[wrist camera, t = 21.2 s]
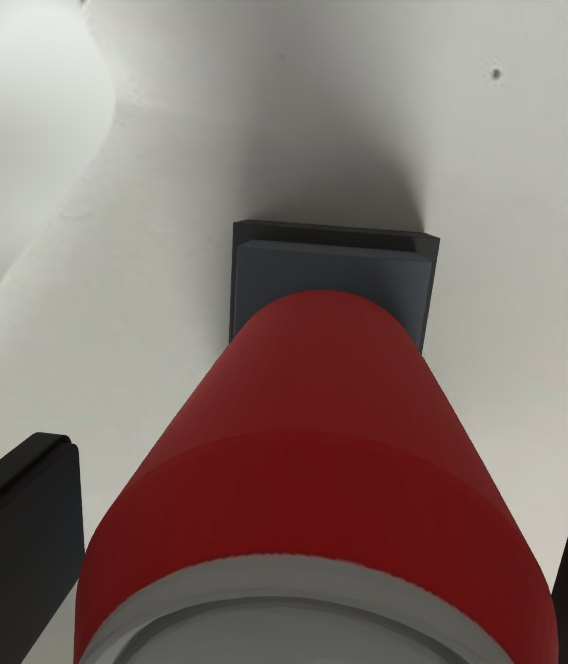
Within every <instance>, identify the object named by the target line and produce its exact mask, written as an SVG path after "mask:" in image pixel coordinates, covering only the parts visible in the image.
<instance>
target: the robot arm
mask: <svg viewBox="0 0 568 664" xmlns="http://www.w3.org/2000/svg"><path fill="white" fill-rule="evenodd" d="M84 556H85V548H84V532H83V515H82V499H81V482H80V466H79V451H78V447H77V445H75V444H71V440H70V438H69V437H68V436H66V435H59V434H51V433H42V432H36V433H34V434H32V435H31V436H30V437H28V438H27V439H26V440H25V441H23V442H22V443H21V444H19V445H18V446H17V447H16V448H14V449H13V450H12V451H10V452H9V453H8V454H6V455H5V456H4V457H3V458H1V459H0V664H21V663H22V661H23V660H24V658H25V657H26V655H27V654H28V652H29V651H30V649H31V648H32V646H33V645H34V643H35V642H36V641H37V639H38V638H39V636H40V635H41V633H42V632H43V630H44V629H45V627H46V626H47V624H48V623H49V621H50V620H51V618H52V617H53V616H54V614H55V613H56V611H57V610H58V608H59V607H60V605H61V604H62V602H63V601H64V599H65V598H66V596H67V595H68V593H69V592H70V590H71V589H72V588H73V586H74V585H75V583H76V582H77V580H78V579H79V575H80V571H81V567H82V563H83V559H84ZM551 597H552V600H553V605H554V610H555V615H556V621H557V632H558V646H559V652H558V664H568V538H567V542H566V545H565V549H564V552H563V556H562V559H561V563H560V566H559V570H558V573H557V577H556V580H555V584H554V587H553V591H552V594H551Z"/></svg>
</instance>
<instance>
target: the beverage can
mask: <svg viewBox="0 0 568 664" xmlns="http://www.w3.org/2000/svg"><path fill="white" fill-rule="evenodd" d="M558 652H559V646H558V632H557V621H556V615H555V610H554V605H553V600H552V597H551V594H550V591H549V587H548V584H547V582H546V580H545V577H544V575H543V573H542V570H541V568H540V566H539V564H538V562H537V560H536V558H535V557H534V555H533V553H532V551H531V549H530V547H529V546H528V544H527V542H526V540H525V538H524V536H523V535H522V533H521V531H520V529H519V527H518V525H517V524H516V522H515V520H514V518H513V516H512V514H511V513H510V511H509V509H508V507H507V505H506V503H505V502H504V500H503V498H502V496H501V494H500V492H499V491H498V489H497V487H496V485H495V483H494V481H493V479H492V478H491V476H490V474H489V472H488V470H487V468H486V467H485V465H484V463H483V461H482V460H481V458H480V456H479V454H478V452H477V451H476V449H475V447H474V445H473V444H472V442H471V440H470V438H469V436H468V435H467V433H466V431H465V429H464V428H463V426H462V424H461V422H460V420H459V419H458V417H457V415H456V413H455V412H454V410H453V408H452V406H451V404H450V403H449V401H448V399H447V398H446V396H445V394H444V392H443V391H442V389H441V387H440V385H439V384H438V382H437V380H436V379H435V377H434V375H433V373H432V372H431V370H430V368H429V367H428V365H427V363H426V361H425V360H424V358H423V357H422V355H421V353H420V352H419V350H418V348H417V347H416V345H415V344H414V342H413V340H412V339H411V337H410V336H409V334H408V333H407V331H406V330H405V329H404V327H403V326H402V325H401V324H400V323H399V322H398V321H397V320H396V319H395V318H394V317H393V316H392V315H391V314H390V313H388V312H387V311H386V310H384V309H383V308H382V307H380V306H379V305H377V304H375V303H373V302H371V301H370V300H367V299H365V298H363V297H360V296H357V295H354V294H351V293H347V292H342V291H336V290H308V291H302V292H298V293H294V294H290V295H287V296H285V297H282V298H280V299H278V300H276V301H274V302H272V303H270V304H268V305H267V306H265V307H264V308H262V309H261V310H260V311H258V312H257V313H256V314H255V315H254V316H253V317H252V318H251V319H250V320H249V321H248V322H247V323H246V324H245V325H244V326H243V328H242V329H241V330H240V331H239V333H238V334H237V335H236V337H235V338H234V339H233V340H232V342H231V343H230V344H229V345H228V347H227V348H226V349H225V350H224V352H223V353H222V354H221V355H220V357H219V358H218V359H217V361H216V362H215V364H214V365H213V366H212V368H211V369H210V370H209V372H208V373H207V374H206V376H205V377H204V378H203V380H202V381H201V382H200V384H199V385H198V386H197V388H196V389H195V390H194V392H193V393H192V394H191V396H190V397H189V398H188V400H187V401H186V403H185V404H184V405H183V407H182V408H181V409H180V411H179V412H178V413H177V415H176V416H175V417H174V419H173V420H172V421H171V423H170V424H169V426H168V427H167V428H166V430H165V431H164V433H163V434H162V435H161V437H160V438H159V440H158V441H157V442H156V444H155V445H154V447H153V448H152V449H151V451H150V452H149V454H148V455H147V456H146V458H145V459H144V461H143V462H142V464H141V465H140V466H139V468H138V469H137V471H136V472H135V473H134V475H133V476H132V478H131V479H130V480H129V482H128V483H127V485H126V486H125V487H124V489H123V490H122V492H121V493H120V494H119V496H118V497H117V499H116V500H115V501H114V503H113V504H112V506H111V507H110V508H109V510H108V511H107V513H106V514H105V516H104V517H103V519H102V520H101V522H100V523H99V525H98V527H97V528H96V530H95V532H94V534H93V536H92V538H91V540H90V542H89V545H88V548H87V550H86V553H85V556H84V559H83V563H82V567H81V571H80V575H79V580H78V585H77V593H76V605H75V632H74V658H73V664H558Z"/></svg>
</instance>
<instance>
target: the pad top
mask: <svg viewBox="0 0 568 664" xmlns="http://www.w3.org/2000/svg"><path fill="white" fill-rule="evenodd" d="M431 266H432V262H431V261H429V260H428V259H426V258H424V257H423V256H421V255H420V254H418V253H416V252H408V251H395V250H383V249H370V248H358V247H345V246H332V245H320V244H307V243H294V242H282V241H269V240H256V239H253V240H250V241H248V242H246V243H244V244H242V245H240V246H238V247H237V269H236V293H235V318H234V338H235V337H236V335H237V334H238V333H239V331H240V330H241V329H242V328H243V326H244V325H245V324H246V323H247V322H248V321H249V320H250V319H251V318H252V317H253V316H254V315H255V314H256V313H257V312H258V311H260V310H261V309H262V308H264V307H265V306H267V305H268V304H270V303H272V302H274V301H276V300H278V299H280V298H282V297H285V296H287V295H290V294H294V293H298V292H302V291H308V290H336V291H342V292H347V293H351V294H354V295H357V296H360V297H363V298H365V299H367V300H370V301H371V302H373V303H375V304H377V305H379V306H380V307H382V308H383V309H384V310H386V311H387V312H388V313H390V314H391V315H392V316H393V317H394V318H395V319H396V320H397V321H398V322H399V323H400V324H401V325H402V326H403V327H404V329H405V330H406V331H407V333H408V334H409V336H410V337H411V339H412V340H413V342H414V344H415V345H416V347H417V348H418V349H419V343H420V336H421V330H422V323H423V317H424V311H425V304H426V298H427V292H428V285H429V279H430V273H431Z"/></svg>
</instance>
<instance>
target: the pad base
mask: <svg viewBox="0 0 568 664" xmlns="http://www.w3.org/2000/svg"><path fill="white" fill-rule="evenodd" d="M253 239H256V240H269V241H282V242H294V243H307V244H320V245H332V246H345V247H358V248H370V249H383V250H395V251H408V252H416V253H418V254H420V255H421V256H423V257H424V258H426V259H428V260H429V261H431V262H432V266H431V273H430V279H429V285H428V292H427V298H426V304H425V311H424V317H423V323H422V330H421V336H420V343H419V349H418V350H419V352H420V353H421V355H422V350H423V343H424V337H425V331H426V325H427V318H428V312H429V306H430V300H431V293H432V287H433V281H434V275H435V268H436V262H437V256H438V250H439V243H440V238H438V237H435V236H432V235H429V234H426V233H418V232H405V231H391V230H378V229H365V228H352V227H339V226H326V225H312V224H299V223H286V222H273V221H260V220H243V221H239V222H234V223H233V247H232V273H231V300H230V327H229V344H230V343H231V342H232V340H233V339H234V318H235V293H236V269H237V247H238V246H240V245H242V244H244V243H246V242H248V241H250V240H253Z"/></svg>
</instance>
